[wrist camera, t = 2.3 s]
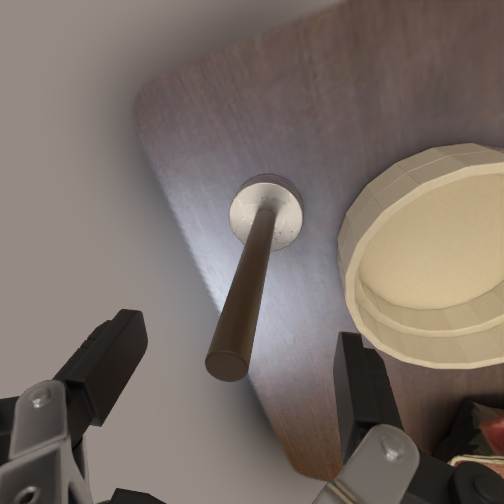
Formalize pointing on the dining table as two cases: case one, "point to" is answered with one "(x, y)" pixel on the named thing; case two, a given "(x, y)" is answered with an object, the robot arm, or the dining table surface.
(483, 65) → the dining table surface
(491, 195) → the bowl
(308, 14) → the dining table surface
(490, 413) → the baking dish
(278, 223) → the rod with silver disc
